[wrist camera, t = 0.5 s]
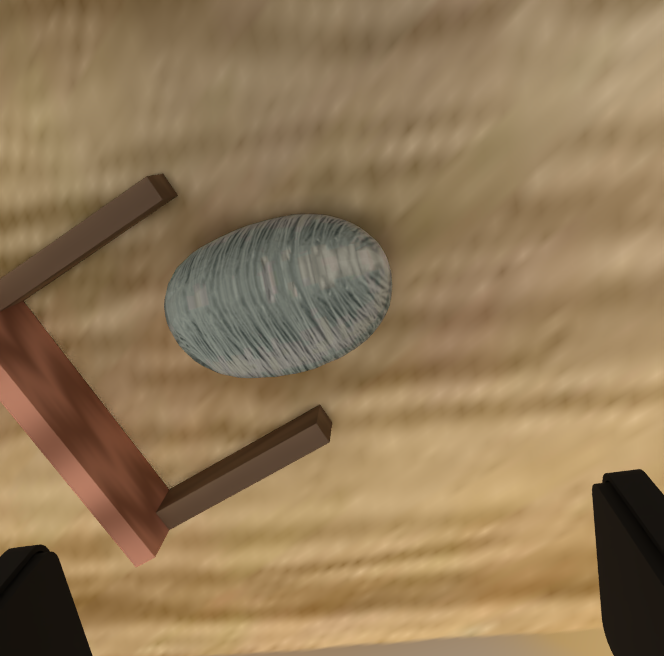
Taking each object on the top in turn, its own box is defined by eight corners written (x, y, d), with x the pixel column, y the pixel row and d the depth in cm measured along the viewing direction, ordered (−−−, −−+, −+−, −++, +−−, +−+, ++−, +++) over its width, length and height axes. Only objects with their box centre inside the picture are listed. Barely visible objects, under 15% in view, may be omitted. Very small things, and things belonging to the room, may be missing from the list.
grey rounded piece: (191, 405, 41) (165, 385, 31) (168, 268, 43) (137, 209, 33) (392, 365, 42) (427, 334, 33) (361, 235, 44) (386, 170, 35)
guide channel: (-10, 293, 43) (-69, 317, 37) (162, 173, 40) (127, 179, 34) (164, 515, 47) (136, 567, 41) (332, 422, 44) (326, 465, 38)
